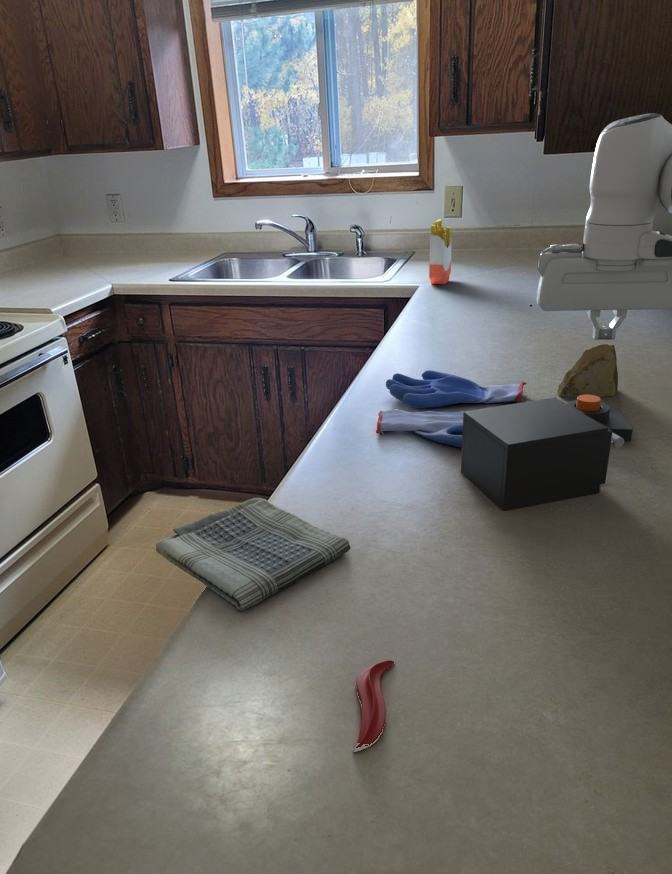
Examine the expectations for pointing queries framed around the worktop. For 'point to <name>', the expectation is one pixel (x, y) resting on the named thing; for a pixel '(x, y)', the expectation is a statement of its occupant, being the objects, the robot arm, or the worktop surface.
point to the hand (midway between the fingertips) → (603, 338)
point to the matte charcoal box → (532, 452)
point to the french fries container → (440, 253)
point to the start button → (588, 403)
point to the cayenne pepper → (371, 702)
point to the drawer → (611, 441)
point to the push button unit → (609, 419)
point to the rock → (592, 374)
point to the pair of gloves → (439, 404)
